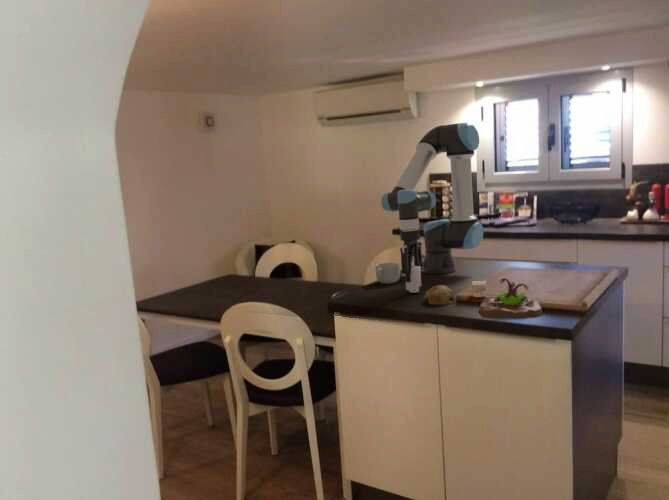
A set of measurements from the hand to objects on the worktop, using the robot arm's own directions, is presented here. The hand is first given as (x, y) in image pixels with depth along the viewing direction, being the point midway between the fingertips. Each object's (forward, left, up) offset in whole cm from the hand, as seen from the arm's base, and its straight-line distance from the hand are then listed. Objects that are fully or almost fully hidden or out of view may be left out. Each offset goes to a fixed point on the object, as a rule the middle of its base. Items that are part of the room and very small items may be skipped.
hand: (413, 287), depth 236 cm
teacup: (-14, -20, -2) cm, 24 cm away
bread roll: (+10, +15, -3) cm, 18 cm away
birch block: (-2, +26, -2) cm, 26 cm away
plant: (+14, +43, -3) cm, 45 cm away
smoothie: (0, 0, -2) cm, 2 cm away
